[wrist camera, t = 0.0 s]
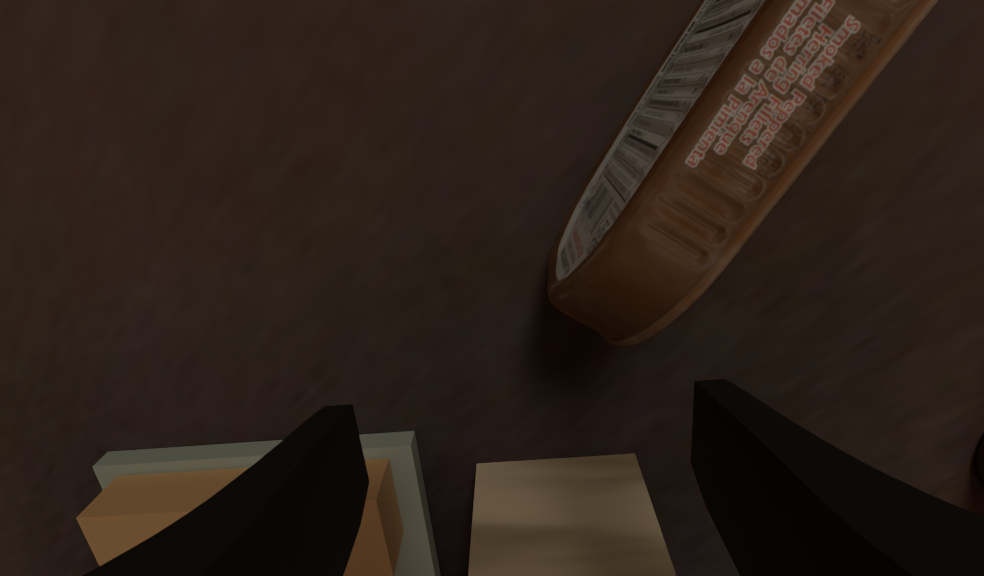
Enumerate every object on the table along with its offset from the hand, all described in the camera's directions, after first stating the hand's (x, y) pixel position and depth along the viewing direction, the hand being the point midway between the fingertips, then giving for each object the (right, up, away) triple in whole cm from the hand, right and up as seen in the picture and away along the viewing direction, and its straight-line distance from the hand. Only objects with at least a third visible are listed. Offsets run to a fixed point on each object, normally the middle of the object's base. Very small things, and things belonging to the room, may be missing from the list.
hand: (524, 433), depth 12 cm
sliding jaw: (-11, -6, +12) cm, 18 cm away
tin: (+6, +10, +7) cm, 13 cm away
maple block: (+2, -6, +13) cm, 15 cm away
